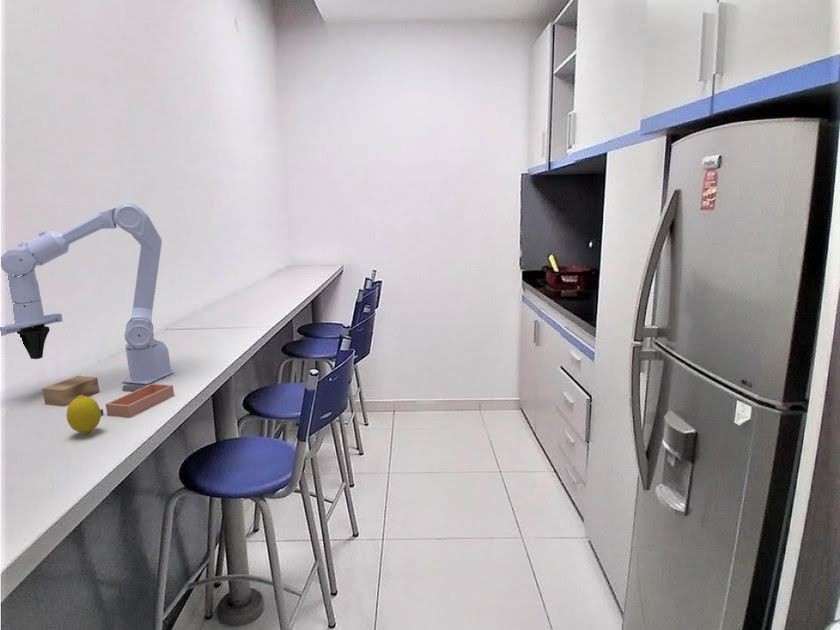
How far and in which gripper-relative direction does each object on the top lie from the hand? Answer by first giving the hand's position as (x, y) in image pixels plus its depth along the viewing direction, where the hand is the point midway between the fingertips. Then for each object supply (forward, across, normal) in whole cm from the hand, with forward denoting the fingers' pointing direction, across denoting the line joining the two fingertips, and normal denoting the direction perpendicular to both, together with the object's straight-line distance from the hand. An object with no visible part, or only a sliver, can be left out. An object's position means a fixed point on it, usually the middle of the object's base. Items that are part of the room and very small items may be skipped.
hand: (36, 358), depth 124 cm
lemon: (+9, +15, +30) cm, 35 cm away
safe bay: (+9, 0, +21) cm, 23 cm away
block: (+10, 0, +9) cm, 13 cm away
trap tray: (+9, 0, +29) cm, 30 cm away
